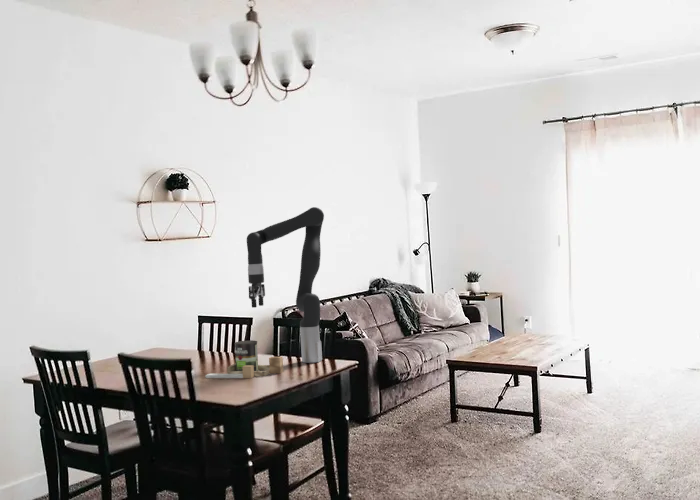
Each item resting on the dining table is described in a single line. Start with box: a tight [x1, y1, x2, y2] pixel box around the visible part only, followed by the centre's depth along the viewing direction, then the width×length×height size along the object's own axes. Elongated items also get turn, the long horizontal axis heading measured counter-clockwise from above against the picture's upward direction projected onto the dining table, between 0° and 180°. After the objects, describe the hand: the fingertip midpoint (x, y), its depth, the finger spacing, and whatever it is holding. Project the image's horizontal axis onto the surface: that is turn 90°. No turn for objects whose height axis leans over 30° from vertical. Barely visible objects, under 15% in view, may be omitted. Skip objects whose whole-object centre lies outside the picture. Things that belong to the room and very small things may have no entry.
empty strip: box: [205, 365, 255, 379], centre depth 296 cm, size 22×4×5 cm, turn 75°
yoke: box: [226, 356, 284, 377], centre depth 303 cm, size 23×15×7 cm, turn 75°
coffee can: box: [234, 339, 259, 371], centre depth 305 cm, size 10×10×14 cm
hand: (257, 306), depth 325 cm, fingers open, 8 cm apart
